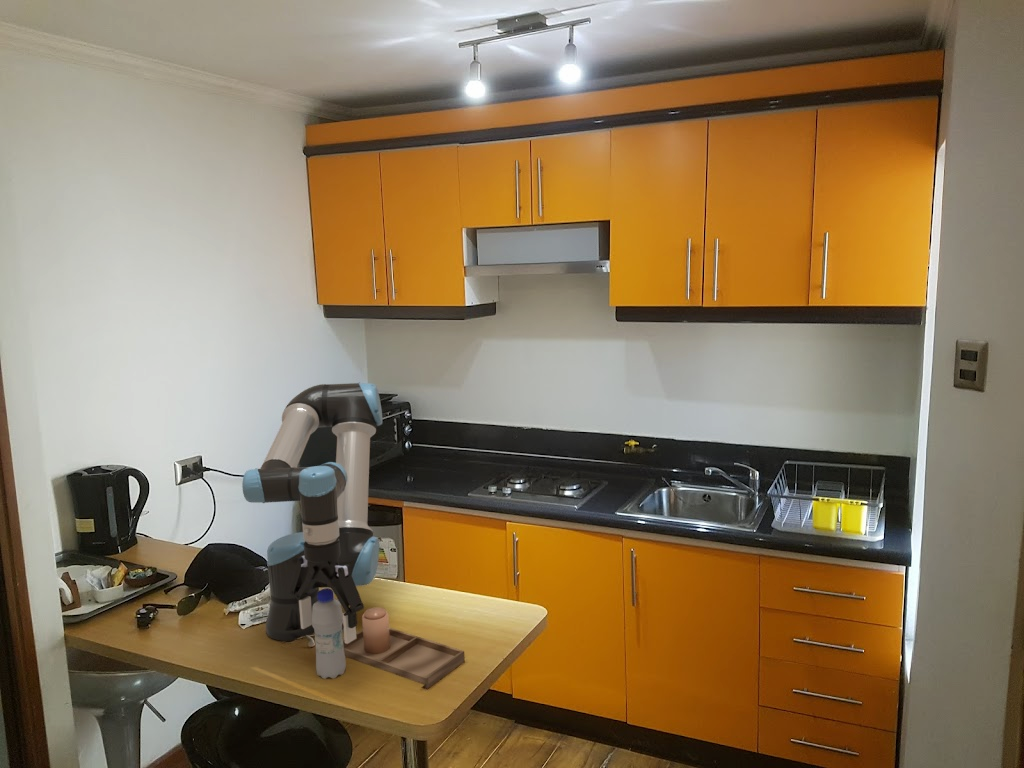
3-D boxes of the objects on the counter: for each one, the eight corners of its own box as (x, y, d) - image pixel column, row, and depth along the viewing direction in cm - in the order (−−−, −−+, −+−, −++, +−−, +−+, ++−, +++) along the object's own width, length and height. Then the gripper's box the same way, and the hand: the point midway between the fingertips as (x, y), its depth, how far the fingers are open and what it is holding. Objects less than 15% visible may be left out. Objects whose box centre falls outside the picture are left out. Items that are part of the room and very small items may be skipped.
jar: (358, 649, 176) (356, 614, 174) (376, 638, 181) (374, 604, 179) (377, 656, 172) (375, 620, 171) (395, 645, 177) (393, 609, 176)
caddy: (335, 656, 175) (334, 646, 175) (375, 632, 186) (374, 623, 186) (426, 689, 160) (426, 678, 160) (464, 661, 171) (464, 651, 171)
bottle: (309, 681, 165) (302, 594, 162) (327, 665, 171) (321, 581, 168) (336, 686, 163) (329, 598, 159) (353, 670, 169) (347, 585, 166)
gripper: (268, 535, 166) (276, 627, 169) (350, 555, 152) (357, 654, 155) (295, 525, 172) (302, 614, 175) (376, 543, 158) (382, 639, 161)
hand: (328, 633), depth 165 cm, fingers open, 13 cm apart
